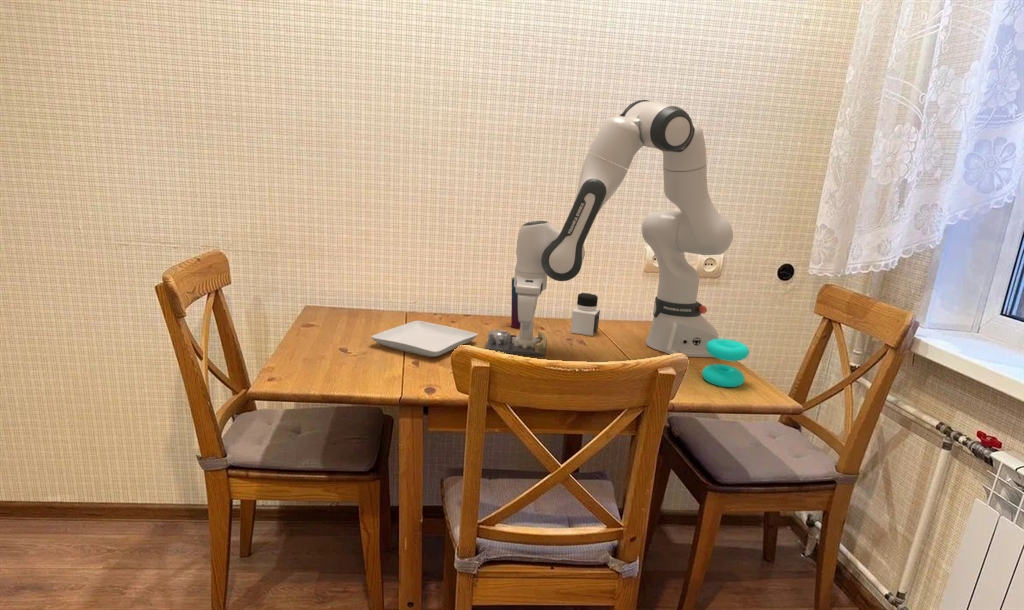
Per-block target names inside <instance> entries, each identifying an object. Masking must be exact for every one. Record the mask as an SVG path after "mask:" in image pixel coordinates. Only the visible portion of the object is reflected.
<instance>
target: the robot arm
mask: <svg viewBox="0 0 1024 610" xmlns="http://www.w3.org/2000/svg"><path fill="white" fill-rule="evenodd" d="M643 147H646V148H653V149H656V150H657V149H658V150H660V151H661V152H662V160H663V161H662V165H663V166H662V167H663V168H662V171H663V174H662V175H663V192H664V196H665V197H666V198H667V200H668V201H670V202H671V203H672V204H674V205H675V206H676V207H677V208H678V209H679V210H680V211H678V210H669V209H668V210H667V209H664V210H663V209H661V210H654V211H653V210H652V211H651V212H649V213H648V214H647V215H646V216H645V218H644V220H643V222H642V224H641V236H642V238H643V240H644V242H645V243H646V244H647V245H648V246H649V247H650V248H651V250H652V251H653V254H654V256H655V258H656V261H657V265H658V286H657V295H656V296H655V298H654V302H653V310H652V315H653V318H652V322H651V326H650V330H649V332H648V335H647V338H646V340H645V345H646V346H648V347H649V348H651V349H654V350H656V351H660V352H663V353H666V354H668V355H670V354H673V353H683V354H685V355H687V356H686V357H690V358H694V357H695V358H715V357H714V356H712V355H711V354H710V353H709V352H708V351H707V348H706V345H707V343H708V342H709V341H710V340H713V339H720V338H719V333H718V330H717V329H716V328H715V327H714V325H713V324H712V323H710V322H709V321H708V319H706V318H705V317H704V316H703V315H702V314H704V315H705V314H706V313H708V312H707V311H708V308H707V306H705V305H703V304H701V302H699V301H698V293H699V287H700V281H701V280H700V275H699V272H698V271H697V269H696V268H695V267H693V266H692V264H691V265H690V264H689V262H688V261H687V259H686V257H685V253H688V254H694V255H701V256H720V255H722V254H724V253H725V252H727V250H728V249H729V248H730V246H731V245H732V242H733V240H734V230H733V228H732V224H731V223H730V222H729V220H727V218H725V217H724V216H723V215H721V214H720V213H719V211H718V210H717V208H716V207H715V205H714V203H713V201H712V200H711V198H710V197H711V196H710V194H709V190H708V189H709V187H708V179H707V178H708V174H707V172H708V171H707V170H708V169H707V149H706V141H705V137H704V132H703V129H702V127H701V126H700V125H699V124H698V123H696V122H693V121H692V118H691V116H690V114H689V113H688V112H687V111H685V110H684V109H683V108H681V107H680V106H676V105H672V104H669V103H667V102H663V101H653V100H648V99H639V100H636V101H633V102H632V103H630V104H629V105H628V106H627V107H626V108H625V109H624V110H623V111H622V113H621V114H620V115H617V116H611V117H609V118H608V119H607V120H605V122H604V123H603V125H602V126H601V127H600V129H599V131H598V133H597V134H596V136H595V138H594V139H593V141H592V144H591V145H590V147H589V149H588V152H587V154H586V156H585V159H584V161H583V165H582V167H581V171H580V175H579V179H578V184H577V191H576V195H575V199H574V202H573V204H572V207H571V209H570V211H569V213H568V216H567V218H566V220H565V222H564V225H563V227H562V228H561V230H559V229H557V228H556V227H554V226H553V225H552V224H551V223H550V222H549V221H546V220H533V221H528V222H526V223H523V224H522V225H521V226H520V228H519V231H518V235H517V240H516V249H515V252H516V253H515V254H516V264H515V266H514V276H513V277H514V287H515V288H516V293H518V320H519V322H521V323H522V335H523V336H528V335H529V328H530V323H532V322H533V321H534V317H535V314H536V310H537V306H538V298H539V297H540V296H541V295H542V293H543V291H545V290H546V289H547V288H548V287H547V286H548V278H550V279H552V280H554V281H557V282H567V281H570V280H572V279H574V278H575V277H577V275H578V274H579V273H580V271H581V269H582V266H583V265H582V264H583V262H584V258H585V256H586V255H585V253H586V250H585V247H584V244H585V241H586V239H587V237H588V235H589V233H590V231H591V228H592V226H593V224H594V223H595V220H596V217H597V216H598V214H599V212H600V211H601V209H602V208H603V207H604V205H605V204H606V203H607V202H608V201H609V199H611V198H612V196H613V195H614V194H615V193H616V191H617V190H618V188H619V187H620V186H621V184H622V182H623V181H624V179H625V178H626V175H627V173H628V171H629V169H630V167H631V164H632V162H633V160H634V157H635V155H637V153H638V152H639V150H641V149H642V148H643ZM533 323H534V322H533Z"/></svg>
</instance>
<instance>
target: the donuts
mask: <svg viewBox="0 0 1024 610" xmlns="http://www.w3.org/2000/svg"><path fill="white" fill-rule="evenodd" d="M706 348H707V351H708V352H709V353H710V354H711V355H712V356H714V357H713V358H716V359H719V360H723V361H728V362H739V361H742V360H745V359H746V358H747V357H748V356H749V354H750V350H749V348H748V346H747V345H746V344H744V343H742V342H740V341H736V340H732V339H726V338H719V339H713V340H710V341H709V342H708V343H707V345H706ZM701 372H702V373H701V374H702V378H703V379H704V380H705V381H706V382H708V383H709V384H711V385H715V386H718V387H723V388H736V387H737V388H738V387H740V386H741V385H742V384H744V382H745V376H744V373H743V372H742V371H741V370H740V369H738V368H736V367H734V366H731V365H728V364H721V363H713V364H709V365H706V366H705V367H704V368H703V369H702V371H701Z"/></svg>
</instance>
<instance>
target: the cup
mask: <svg viewBox="0 0 1024 610" xmlns="http://www.w3.org/2000/svg"><path fill="white" fill-rule="evenodd" d="M514 277H515V276H513V277H512V278H511V311H510V312H511V315H510V316H511V318H510V320H511V323H510V324H511V328H514V329H519V330H520V326H521V322H519V320H518V293H516V288H515V287H514Z"/></svg>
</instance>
